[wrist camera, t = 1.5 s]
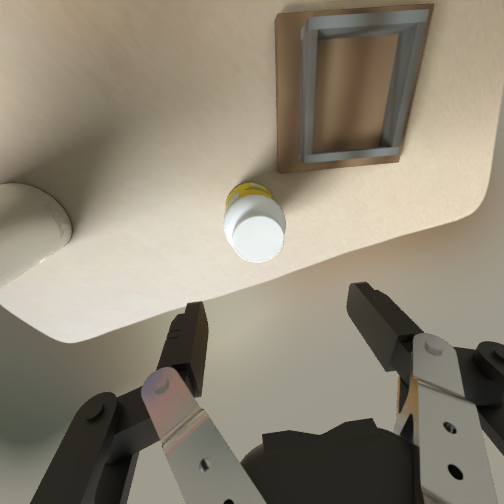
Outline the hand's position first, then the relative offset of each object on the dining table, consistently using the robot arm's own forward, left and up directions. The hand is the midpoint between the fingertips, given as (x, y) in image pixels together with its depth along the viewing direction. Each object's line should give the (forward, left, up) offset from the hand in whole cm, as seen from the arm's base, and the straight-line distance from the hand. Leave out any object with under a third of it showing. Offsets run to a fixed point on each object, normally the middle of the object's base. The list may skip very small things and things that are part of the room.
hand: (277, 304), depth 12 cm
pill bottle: (0, 0, -20) cm, 20 cm away
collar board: (+12, +11, -20) cm, 26 cm away
